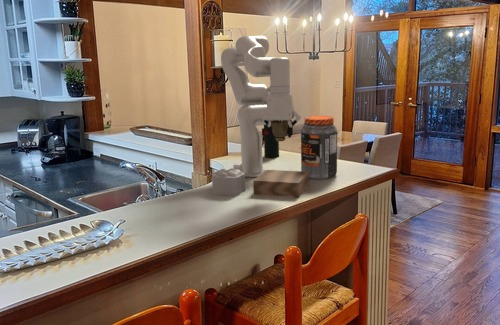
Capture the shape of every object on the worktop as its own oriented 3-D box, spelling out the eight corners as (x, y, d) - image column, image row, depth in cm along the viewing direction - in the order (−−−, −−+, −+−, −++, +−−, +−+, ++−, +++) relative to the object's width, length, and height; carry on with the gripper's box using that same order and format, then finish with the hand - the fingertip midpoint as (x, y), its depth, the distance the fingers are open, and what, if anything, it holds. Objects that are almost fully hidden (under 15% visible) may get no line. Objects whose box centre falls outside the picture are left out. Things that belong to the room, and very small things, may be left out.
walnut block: (253, 195, 178) (253, 180, 177) (267, 183, 195) (266, 169, 193) (299, 198, 172) (298, 183, 171) (308, 185, 189) (308, 171, 188)
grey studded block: (236, 196, 176) (235, 174, 174) (207, 193, 182) (206, 172, 180) (248, 189, 185) (247, 168, 184) (220, 186, 191) (218, 166, 189)
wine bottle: (264, 154, 252) (263, 99, 246) (281, 155, 247) (280, 99, 241) (258, 157, 245) (256, 101, 239) (275, 158, 241) (274, 101, 234)
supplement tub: (294, 174, 207) (293, 117, 201) (322, 169, 214) (323, 114, 208) (314, 181, 193) (314, 120, 187) (344, 176, 200) (345, 117, 194)
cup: (284, 143, 174) (284, 122, 172) (267, 141, 178) (267, 121, 176) (293, 139, 180) (293, 119, 179) (277, 138, 184) (276, 118, 182)
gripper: (255, 91, 174) (256, 138, 178) (300, 91, 169) (300, 139, 173) (260, 90, 181) (262, 134, 185) (304, 89, 176) (304, 135, 180)
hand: (280, 136), depth 179 cm, fingers closed on cup, 6 cm apart
